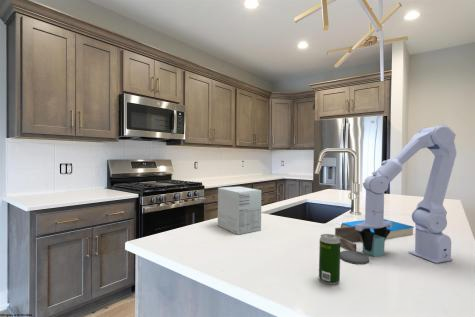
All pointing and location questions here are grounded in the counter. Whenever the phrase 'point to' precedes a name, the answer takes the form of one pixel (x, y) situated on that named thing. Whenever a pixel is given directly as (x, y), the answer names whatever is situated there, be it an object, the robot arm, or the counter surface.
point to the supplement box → (239, 209)
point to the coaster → (354, 257)
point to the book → (395, 231)
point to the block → (376, 246)
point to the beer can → (329, 259)
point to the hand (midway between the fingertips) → (373, 249)
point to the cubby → (348, 237)
